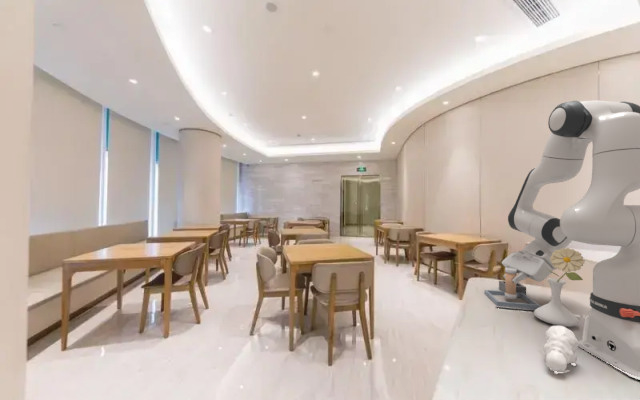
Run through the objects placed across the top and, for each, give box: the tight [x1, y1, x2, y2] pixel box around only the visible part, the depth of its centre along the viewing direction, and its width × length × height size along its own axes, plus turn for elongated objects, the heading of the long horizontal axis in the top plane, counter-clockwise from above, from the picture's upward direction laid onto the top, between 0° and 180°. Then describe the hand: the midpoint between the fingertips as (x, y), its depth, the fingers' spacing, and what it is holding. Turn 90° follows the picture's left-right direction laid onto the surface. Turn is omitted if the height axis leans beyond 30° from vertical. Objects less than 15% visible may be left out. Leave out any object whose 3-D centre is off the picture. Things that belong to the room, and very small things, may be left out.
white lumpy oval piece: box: [542, 325, 579, 373], centre depth 67 cm, size 6×8×12 cm
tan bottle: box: [504, 267, 518, 300], centre depth 108 cm, size 4×4×11 cm
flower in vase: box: [533, 247, 586, 328], centre depth 91 cm, size 13×11×25 cm
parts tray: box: [484, 289, 542, 313], centre depth 108 cm, size 14×14×2 cm
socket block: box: [498, 280, 527, 295], centre depth 118 cm, size 7×7×4 cm
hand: (509, 280), depth 108 cm, fingers closed on tan bottle, 3 cm apart
